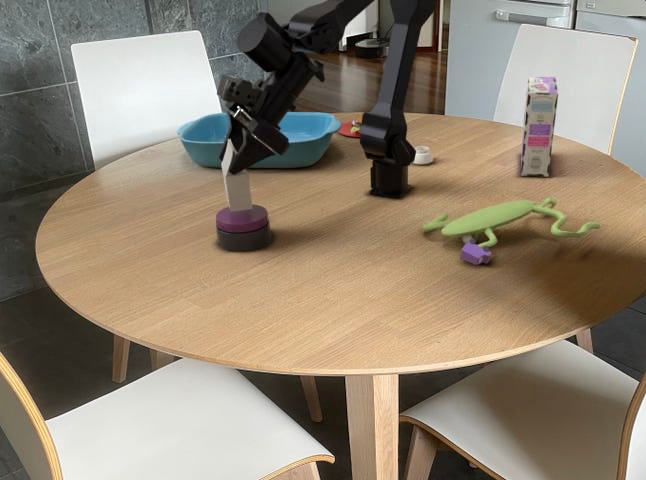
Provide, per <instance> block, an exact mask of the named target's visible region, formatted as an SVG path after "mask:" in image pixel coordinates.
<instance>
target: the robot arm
mask: <svg viewBox="0 0 646 480" xmlns="http://www.w3.org/2000/svg"><path fill="white" fill-rule="evenodd" d="M375 1H376V0H325V1H323V2H320V3H317V4H314V5H311V6H308V7H306V8H304V9H302V10H300V11H298V12H297V13H295V14H293V16H291V18H290V19H289V21H288V23H286V24H283V25H280V24H279V23H278V22H277V21H276V19H275V18H274V17H273V15H271V14H270V12H266V11H259V12H258V13H257V16H256V17H255V18H253V19H251V20H250V21H249V22H247V24H245V26H243V28H240V30H239V32H238V36H237V38H236V47H237V49H238V50H239V51H240V52H241V53H242V54H243V55H244V56H245V57H247V58H248V59H249V60H250V61H251V62H252V63H254V64H255V65H256V66H258V67H259V69H261V70H262V71H263V72H265V73H267V74H268V73H269V74H268V75H267V76H266V78H265V79H263V78H262V77H261V78H258V79H257V81H256V82H255V83H254V84H253V83H252V81H250V80H249V79H247V80H246V79H245V78H243V77H239V78H236V77H232V76H229V75H227V74H221V76H220V80H219V83H218V84H219V85H218V87H217V92H216V96H220V97H219V98H220V99H221V100H222V101H225V104H224V106H225V107H226V109H228V110H229V111H230V112H232V113H229V111H228V110H226V113H227V116H228V120H229V129H228V132H227V135H226V138H225V141H224V144H223V146H222V149H221V152H220V154H219V159H220V160H221V161H223V158H224V155H225V152H226V148H227V144H228V139H229V140H230V139H231V142H232V144H233V146H234V148H235V150H236V151H237V152H238V153H237V155H236V157H235V159H234V160H233V162H232V164H231V166H230V168H229V172H230V173H231V174H233V175H235V174H237V173H239V172H241V171H243V170H244V169H246V170H247V169H249V168H248V167H250V166H252V165H254V164H256V163H257V162H260V161H262V160H264V159H266V158H268V157H270V156H272V155H273V156H275V155H276V153H275V152H274V151H276V152H277V153H278V154H279V155H281V156H283V155H284V153H285V152H286V151H287V149H288V148H289V139H288V138H287V137H286V136H285V135H284V134H283V133H282V132H280V129H281V127H279V126H278V125H279V123H280V122H281V120H282V119H283V118H284V116H285V115H286V114H287V112H295V110H296V109H297V106H296V105H295V103H296V101H297V100H298V98H299V97H300V96H301V95H302V93H303V92H304V91H305V89H306V87H307V86H308V85H309V83H310V82H311V81H312V79H313V78H315V79H317V80H318V81H319V82H321V83H325V81H326V79H325V78H326V77H325V76H326V75H325V71H324V69H325V68H324V67H325V64H324V63H322V62H321V61H320V60H318V59H313V60H312V59H311V58H310V56H308V55H307V54H306V53H308V54H315V55H320V56H327V55H328V54H330V53H332V51H334V49H335V48H336V47H337V45H338V44H339V43H340V42H341V40H343V38H344V36H345V31H346V27H347V26H348V25H349V24H350V23H351V22H352V21H353V20H354V19H355V18H356V17H357V16H359V15H360V14H361V13H362V12H364V11H365V10H366V9H367V8H368V7H369V6H371V5H372V3H374V2H375ZM437 3H438V0H389V6H390V9H391V13H392V18H393V26H392V31H391V36H390V39H389V44H388V49H387V55H386V57H385V58H386V59H385V64H384V69H383V73H382V77H381V83H380V86H379V87H380V88H379V93H378V97H377V100H376V104H375V106H374V107H373V108H372V109H371V110H370V111H364V112H363V113H364V114H363V116H362V124H361V128H360V130H359V132H358V134H360V137H359V145H361V148H362V150H363V153H364V156H365V159H366V160H371V167H370V168H369V175H370V176H369V177H370V178H369V179H370V188H371V189H370V190H369V191H368V194H369V195H373V196H380V197H385V198H386V197H387V198H392V199H399V198H401V197H403V196H404V195H405V194H406V193H407V192H408V191H409V190H411V189H412V184H409V166H411V164H413V163H412V162H414V160H415V156H416V150H415V147H414V146H413V145H412V144H411V143H410V142H409V141H408V140H407V134H408V124H407V120H406V116H405V113H404V107H405V103H406V98H407V93H408V89H409V84H410V80H411V76H412V73H413V67H414V63H415V58H416V54H417V50H418V49H417V48H418V45H419V39H420V35H421V31H422V28H423V26H424V25H425V23H427V21H428V20H429V19H430V18H431V16H432V15H433V14H434V12H435V9H436V5H437ZM293 48H294V49H295V50H296V51H293ZM369 112H370V113H369ZM273 150H274V151H273Z"/></svg>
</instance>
